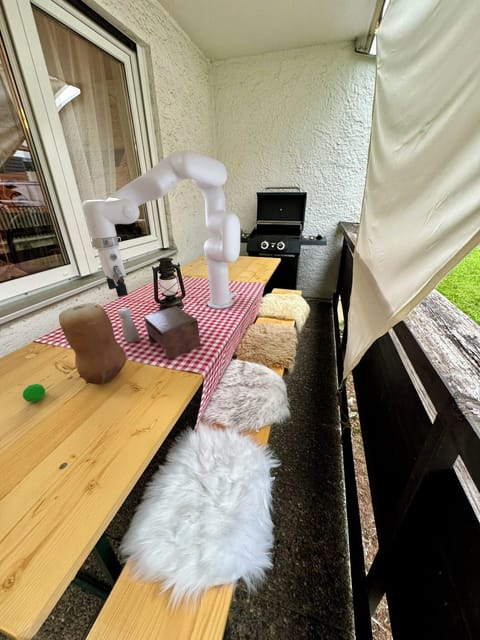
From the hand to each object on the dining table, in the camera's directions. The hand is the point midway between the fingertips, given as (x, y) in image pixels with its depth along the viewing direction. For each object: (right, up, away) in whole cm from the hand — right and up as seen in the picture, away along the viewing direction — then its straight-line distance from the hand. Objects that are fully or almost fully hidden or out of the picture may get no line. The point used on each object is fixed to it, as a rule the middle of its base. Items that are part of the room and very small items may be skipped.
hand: (118, 292), depth 91 cm
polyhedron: (-15, -33, -17) cm, 40 cm away
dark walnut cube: (+18, -19, +6) cm, 27 cm away
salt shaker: (+1, -18, +10) cm, 20 cm away
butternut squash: (+1, -28, -9) cm, 30 cm away
